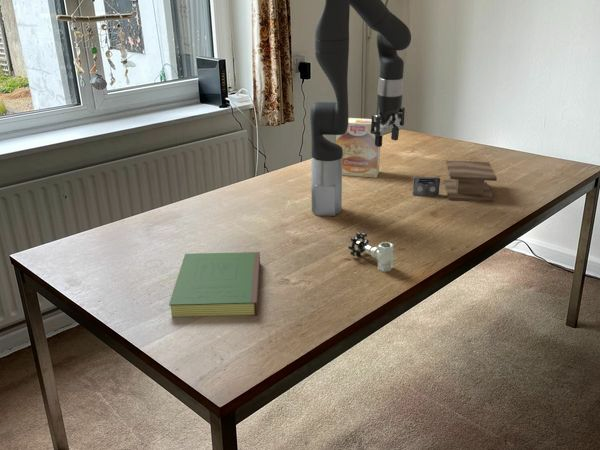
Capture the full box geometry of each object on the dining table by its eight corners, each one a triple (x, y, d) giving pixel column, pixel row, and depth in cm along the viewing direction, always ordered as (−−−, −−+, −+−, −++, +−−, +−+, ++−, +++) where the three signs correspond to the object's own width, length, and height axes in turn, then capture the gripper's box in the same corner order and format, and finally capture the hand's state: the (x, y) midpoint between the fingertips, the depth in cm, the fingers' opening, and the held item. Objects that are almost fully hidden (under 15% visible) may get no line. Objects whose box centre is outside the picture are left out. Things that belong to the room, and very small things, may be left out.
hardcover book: (257, 317, 130) (256, 302, 129) (170, 319, 130) (169, 304, 128) (260, 263, 153) (259, 250, 152) (186, 265, 153) (185, 252, 151)
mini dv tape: (438, 194, 196) (439, 177, 194) (438, 196, 195) (440, 178, 192) (412, 193, 197) (413, 176, 194) (413, 195, 195) (414, 178, 193)
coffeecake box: (335, 175, 214) (336, 121, 206) (338, 169, 221) (339, 116, 213) (377, 178, 211) (379, 123, 203) (379, 171, 217) (382, 118, 209)
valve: (400, 267, 150) (365, 251, 158) (401, 243, 147) (366, 228, 156) (381, 275, 146) (347, 258, 155) (383, 251, 143) (348, 235, 152)
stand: (493, 201, 189) (496, 177, 186) (448, 199, 191) (450, 176, 188) (486, 184, 204) (488, 162, 201) (444, 182, 206) (446, 160, 202)
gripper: (386, 99, 175) (382, 151, 183) (413, 90, 184) (409, 140, 192) (365, 94, 180) (363, 145, 187) (393, 85, 189) (390, 135, 196)
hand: (386, 143), depth 189 cm, fingers open, 8 cm apart
